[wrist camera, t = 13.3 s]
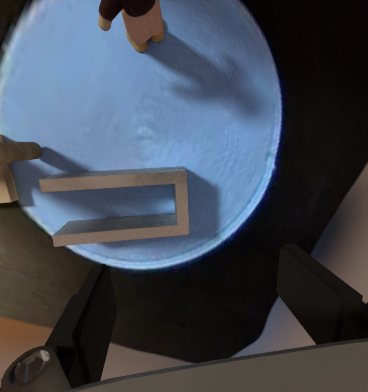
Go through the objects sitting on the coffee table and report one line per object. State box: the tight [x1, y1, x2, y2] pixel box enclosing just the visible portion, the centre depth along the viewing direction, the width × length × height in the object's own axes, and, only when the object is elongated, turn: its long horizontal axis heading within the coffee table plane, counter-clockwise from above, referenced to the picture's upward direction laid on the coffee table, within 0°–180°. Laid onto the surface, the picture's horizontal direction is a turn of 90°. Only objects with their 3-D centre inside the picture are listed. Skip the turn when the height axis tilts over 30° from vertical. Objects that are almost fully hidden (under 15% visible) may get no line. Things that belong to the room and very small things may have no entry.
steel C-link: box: [39, 166, 189, 247], centre depth 26 cm, size 16×8×4 cm, turn 93°
